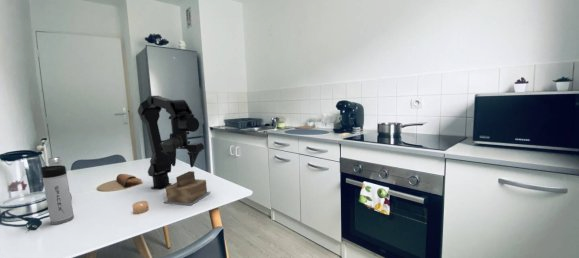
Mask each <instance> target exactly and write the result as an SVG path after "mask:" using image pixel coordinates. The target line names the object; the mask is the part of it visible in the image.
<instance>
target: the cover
mask: <svg viewBox="0 0 579 258" xmlns="http://www.w3.org/2000/svg"><path fill="white" fill-rule="evenodd" d="M195 175H196V174H195V171H192V170H191V171H190V170H189V171H187V172H184V173H183V174H182V173H181V174H180V175H178V176H176V177H175V178H176V179H175V180H176V182H174V183H171V185H169V186H167V187H165V192H166V193H165V194H166V201H168V202H180V203H192V202H194V201H195V200H197V199H198V198H200V197H201V196H203V195H204V194H206V193H207V192H208V188H207V187H208V186H207V180H206V179H198V178H197V179H196V177H195Z"/></svg>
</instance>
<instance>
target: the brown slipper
mask: <svg viewBox="0 0 579 258" xmlns="http://www.w3.org/2000/svg"><path fill="white" fill-rule="evenodd" d="M115 179H116V181H117V182H119V183H120V184H121V185H122V186H123V187H124V188H131V187H134V186H139V185H142V184H143V181H141V180H140V179H139V178H138V177H136V176H134V175H131V174H127V173H120V174H118V175H117V176H116V178H115Z"/></svg>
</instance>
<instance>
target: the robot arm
mask: <svg viewBox="0 0 579 258" xmlns="http://www.w3.org/2000/svg"><path fill="white" fill-rule="evenodd" d="M163 109H164V110H165V112H166V113H168V114H169V115H170V116H169V117H168V120H170V124H171V133H170V134H169V138H166V140H164V141H163V142H162V137H161V133H160V128H159V123H158V122H159V119H160V116H161V115H160V113H161V111H162V110H163ZM137 113H138V116H139V118H140V120H141V121H142V122H143V123H144V124H145V125H146V126H145V127H146V130H147V136H148V140H149V145H150V149H151V154H152V155H151V157H150V160H149V164H150V165H149V167H148V170H147V174H148V177H151V178H152V183H153V185H152V186H151V187H150V189H158V190H162V189H166V187H168V186H170V185H172V183H171V182H170V178H169V174H168V173H171V172H172V167H175V166H176V164H177V150H187V151H188V152H186V153H187V155H188V157H189V165H190V168H194V165H195V163H196V160H197V158H198V156H199V154H200V152H202V150H204V149H205V145H204V143H203V142H193V143H191V141H190V140H188V138H189V137H188V135H189V134H190V132H191V133H192V132H193V133H195V132H196V131H198V129H199V127H200V122H199V120H198V119H197V117H195V114H193V111H192V110H191V108H190V106H189V105H188V103H187V101H186V100H185V99H170V98H166V97H164V96H162V95H161V96H160V95H149V96H147V98H146V99H145V100H144V101H142V102H141V103H140V104H139V106H138V108H137Z"/></svg>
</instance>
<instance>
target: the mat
mask: <svg viewBox="0 0 579 258" xmlns="http://www.w3.org/2000/svg"><path fill="white" fill-rule="evenodd" d="M210 194H211V191H207V193H206V194H204V195H203V196H201V197H200V198H198V199H197V200H195V201H194V202H192V203H180V202H168V201H167V200H165V201H163V204H169V205H178V206H179V205H180V206H190V207H191V206H193V205H194V204H196V203H197V202H199V201H201V200H203V199H204V198H205V197H207V196H208V195H210Z"/></svg>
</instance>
